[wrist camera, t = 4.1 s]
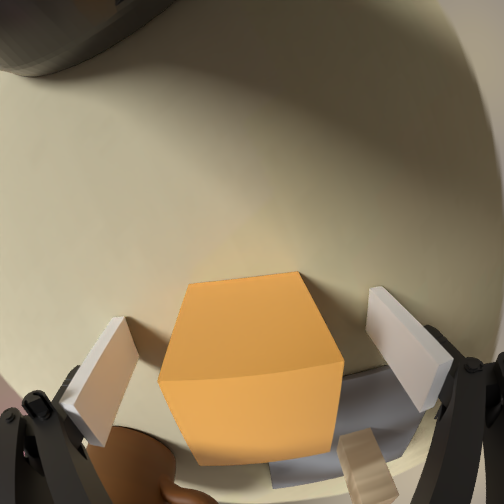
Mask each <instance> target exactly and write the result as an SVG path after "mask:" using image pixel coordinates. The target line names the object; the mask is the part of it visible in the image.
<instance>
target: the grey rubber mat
mask: <svg viewBox="0 0 504 504" xmlns="http://www.w3.org/2000/svg"><path fill="white" fill-rule="evenodd" d="M425 412H426V410H425V411H423V412H420V413H419V411H418V410H417V408H416V406H415V405H414V403H413V402H412V400H411V398H410V397H409V395H408V394H407V392H406V391H405V389H404V388H403V386H402V384H401V383H400V381H399V380H398V378H397V377H396V375H395V374H394V372H393V371H392V369H391V368H390V366H389V365H386V366H383V367H379V368H376V369H372V370H368V371H364V372H360V373H356V374H352V375H347V376H343V377H342V384H341V392H340V398H339V405H338V411H337V417H336V423H335V429H334V434H333V439H332V444H331V449H330V452H327V453H322V454H317V455H312V456H307V457H302V458H296V459H289V460H282V461H275V462H269V467H270V474H271V480H272V487H273V489H277V488H285V487H291V486H298V485H304V484H309V483H314V482H319V481H324V480H328V479H333V478H337V477H341V476H344V477H345V481H346V484H347V487H348V490H349V494H350V497H351V500H352V503H353V504H391V503H392V502H393V501H394V500H395V499H396V498H397V497H398V496H399V493H398V491H397V488H396V486H395V484H394V481H393V479H392V476H391V474H390V471H389V469H388V467H387V464H386V463H387V462H389V461H392V460H395V459H397V458H400V457H401V456H402V455H403V453H404V451H405V450H406V448H407V446H408V444H409V443H410V441H411V439H412V437H413V435H414V434H415V432H416V430H417V428H418V426H419V424H420V422H421V420H422V418H423V416H424V414H425Z"/></svg>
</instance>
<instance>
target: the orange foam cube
mask: <svg viewBox="0 0 504 504" xmlns="http://www.w3.org/2000/svg"><path fill="white" fill-rule="evenodd" d="M343 368H344V359H343V357H342V355H341V353H340V351H339V349H338V347H337V345H336V343H335V341H334V339H333V337H332V335H331V333H330V331H329V329H328V328H327V326H326V324H325V322H324V320H323V318H322V316H321V314H320V312H319V310H318V308H317V306H316V304H315V302H314V301H313V299H312V297H311V295H310V293H309V291H308V289H307V287H306V285H305V284H304V282H303V280H302V278H301V276H300V274H299V272H298V271H297V272H290V273H282V274H274V275H265V276H257V277H249V278H240V279H231V280H222V281H213V282H204V283H194V284H189V285H188V288H187V291H186V294H185V297H184V300H183V303H182V306H181V309H180V311H179V314H178V317H177V320H176V323H175V326H174V329H173V333H172V336H171V339H170V342H169V345H168V348H167V351H166V354H165V358H164V361H163V364H162V367H161V371H160V374H159V377H158V380H157V381H158V384H159V386H160V388H161V391H162V393H163V395H164V397H165V400H166V402H167V404H168V406H169V408H170V411H171V413H172V415H173V417H174V419H175V421H176V423H177V425H178V427H179V429H180V431H181V433H182V435H183V437H184V439H185V441H186V443H187V444H188V446H189V448H190V450H191V452H192V454H193V456H194V457H195V459H196V461H197V463H198V464H199V466H225V465H244V464H256V463H266V462H275V461H282V460H289V459H296V458H302V457H307V456H312V455H317V454H322V453H327V452H330V449H331V444H332V439H333V434H334V429H335V423H336V417H337V411H338V405H339V398H340V392H341V384H342V377H343Z"/></svg>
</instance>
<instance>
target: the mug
mask: <svg viewBox="0 0 504 504" xmlns="http://www.w3.org/2000/svg"><path fill="white" fill-rule="evenodd" d="M86 451H87V453H88V455H89V458H90V460H91V462H92V464H93V466H94V468H95V470H96V472H97V474H98V476H99V478H100V480H101V482H102V484H103V486H104V488H105V490H106V492H107V493H108V495H109V497H110V499H111V500H112V502H113V504H218V502H217V501H216V500H215V499H214V498H212V497H211V496H210V495H208V494H206V493H204V492H201V491H198V490H194V489H188V488H181V487H180V486H178V485H176V484H175V483H174V480H175V471H176V461H175V457H174V456H173V454H172V452H171V451H170V450H169V449H168V448H167V447H166V446H165V445H163V444H162V443H161V442H159V441H157V440H156V439H154V438H152V437H150V436H148V435H146V434H143V433H141V432H138V431H135V430H132V429H128V428H123V427H116V426H112V428H111V430H110V433H109V436H108V439H107V442H106V444H105V447H100V446H95V445H90V444H89V443H88V446H87V448H86Z"/></svg>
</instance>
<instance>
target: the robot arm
mask: <svg viewBox="0 0 504 504" xmlns="http://www.w3.org/2000/svg"><path fill="white" fill-rule="evenodd" d="M174 1H175V0H0V70H1V71H5V72H9V73H13V74H17V75H21V76H41V75H46V74H51V73H54V72H58V71H61V70H64V69H67V68H69V67H71V66H74V65H76V64H78V63H81V62H83V61H85V60H87V59H89V58H91V57H93V56H95V55H97V54H99V53H100V52H102V51H104V50H106V49H108V48H109V47H111V46H113V45H114V44H116V43H118V42H119V41H121V40H122V39H124V38H126V37H127V36H129V35H130V34H132V33H133V32H135V31H136V30H138V29H139V28H140V27H142V26H143V25H145V24H146V23H148V22H149V21H150V20H152V19H153V18H154V17H156V16H157V15H158V14H159V13H161V12H162V11H163V10H165V9H166V8H167V7H168V6H169V5H171V4H172V3H173V2H174ZM365 331H366V332H367V334H368V335H369V337H370V338H371V340H372V341H373V343H374V344H375V346H376V347H377V348H378V350H379V351H380V353H381V354H382V356H383V357H384V359H385V360H386V362H387V363H388V365H389V366H390V368H391V369H392V371H393V372H394V374H395V375H396V377H397V378H398V380H399V381H400V383H401V384H402V386H403V388H404V389H405V391H406V392H407V394H408V395H409V397H410V398H411V400H412V402H413V403H414V405H415V406H416V408H417V410H418V411H419V413H420V412H423V411H425V410H428V409H430V408H432V407H434V405H435V403H436V401H437V399H438V398H439V399H440V401H441V402H442V404H441V406H440V408H439V410H438V412H437V414H436V416H435V418H434V419H437V422H436V426H435V430H434V434H433V438H432V442H431V446H430V449H429V453H428V456H427V459H426V463H425V466H424V468H423V472H422V474H421V478H420V480H419V483H418V485H417V488H416V491H415V493H414V496H413V498H412V501H411V503H410V504H470V503H471V499H472V495H473V491H474V487H475V482H476V477H477V473H478V468H479V462H480V455H481V449H482V442H483V447H484V458H485V472H486V504H504V352H502V353H500V354H499V355H498V358H497V360H496V362H493V363H488V364H483V363H482V362H481V361H480V360H478V359H476V358H473V357H467V358H465V357H464V356H463V355H462V354H461V353H460V352H459V351H458V350H457V349H456V348H455V347H454V346H453V345H452V344H451V343H450V342H448V340H447V339H446V338H445V337H443V335H442V334H441V333H440V332H439V331H438V330H437V329H436V328H434V327H432V326H430V325H425V326H422V325H421V324H420V323H419V322H418V321H417V320H416V319H415V318H414V317H413V316H412V315H411V314H410V313H409V312H408V311H407V310H406V309H405V308H404V307H403V306H402V305H401V304H400V303H399V302H398V301H397V300H396V299H395V298H394V297H393V296H392V295H391V294H390V293H389V292H388V291H387V290H386V289H385V288H384V287H382V286H378V287H373V288H369V300H368V311H367V321H366V330H365ZM138 359H139V354H138V352H137V349H136V347H135V344H134V341H133V339H132V336H131V333H130V330H129V327H128V325H127V322H126V319H125V317H112V319H111V320H110V322H109V323H108V325H107V326H106V328H105V329H104V331H103V332H102V334H101V335H100V337H99V338H98V340H97V341H96V343H95V344H94V346H93V347H92V349H91V350H90V352H89V353H88V355H87V357H86V358H85V360H84V361H83V363H82V364H81V365H77V366H76V367H75V368H74V369H73V370H71V371H70V373H69V374H68V376H67V377H66V380H64V382H63V384H62V386H61V387H60V389H59V390H58V392H57V393H56V395H55V397H54V398H53V400H52V402H50V400H49V399H48V397H47V396H46V394H45V392H43V391H41V390H36V391H32V392H30V393H28V394H27V395H26V396H25V397H24V399H23V401H22V407H23V408H24V409H25V410H26V412H27V413H28V415H25V416H23V415H22V414H21V413H20V411H19V410H18V409H17V408H12V407H11V408H8V409H6V410H5V411H4V412H3V413H2V414H1V416H0V504H113V502H112V500H111V499H110V497H109V495H108V493H107V492H106V490H105V488H104V486H103V484H102V482H101V480H100V478H99V476H98V474H97V472H96V470H95V468H94V466H93V464H92V462H91V460H90V458H89V455H88V453H87V451H86V449H85V447H84V445H83V444H82V443H81V442H82V440H83V438H85V439H86V440H87V441H88V443H89V444H90V445H95V446H100V447H105V444H106V442H107V439H108V436H109V433H110V430H111V428H112V425H113V422H114V419H115V417H116V414H117V411H118V409H119V406H120V404H121V401H122V398H123V396H124V393H125V391H126V388H127V386H128V383H129V381H130V378H131V376H132V374H133V371H134V369H135V366H136V364H137V361H138ZM437 417H438V418H437ZM23 451H24V452H25V457H24V453H23Z"/></svg>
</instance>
